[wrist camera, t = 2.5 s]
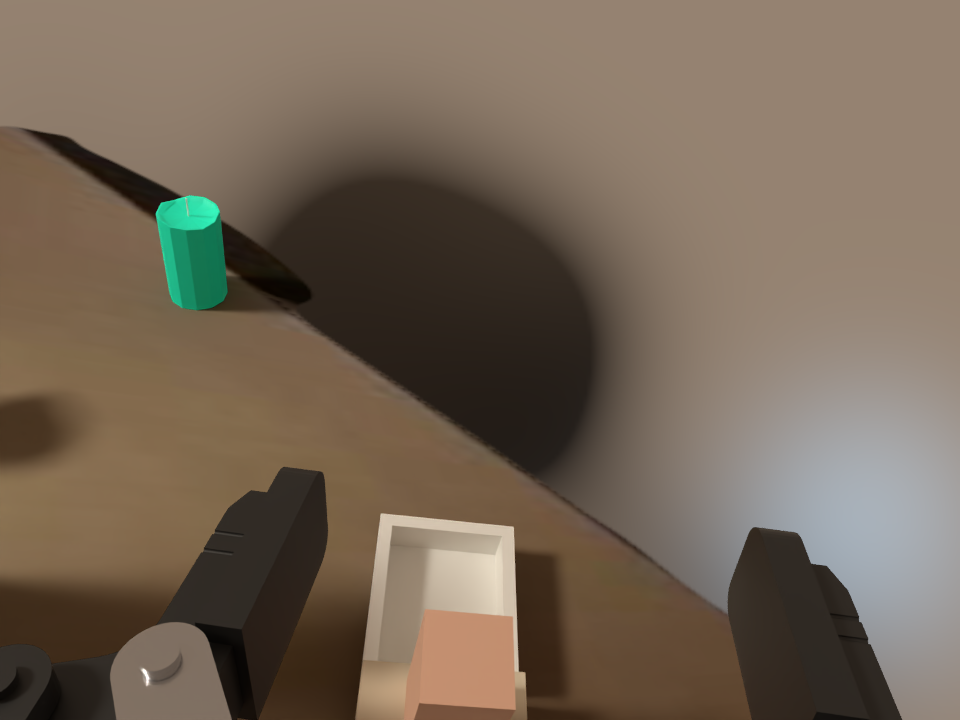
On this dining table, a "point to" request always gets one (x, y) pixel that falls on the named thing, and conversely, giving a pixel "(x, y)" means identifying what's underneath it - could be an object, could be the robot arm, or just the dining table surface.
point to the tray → (436, 579)
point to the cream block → (387, 692)
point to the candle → (193, 252)
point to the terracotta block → (462, 668)
